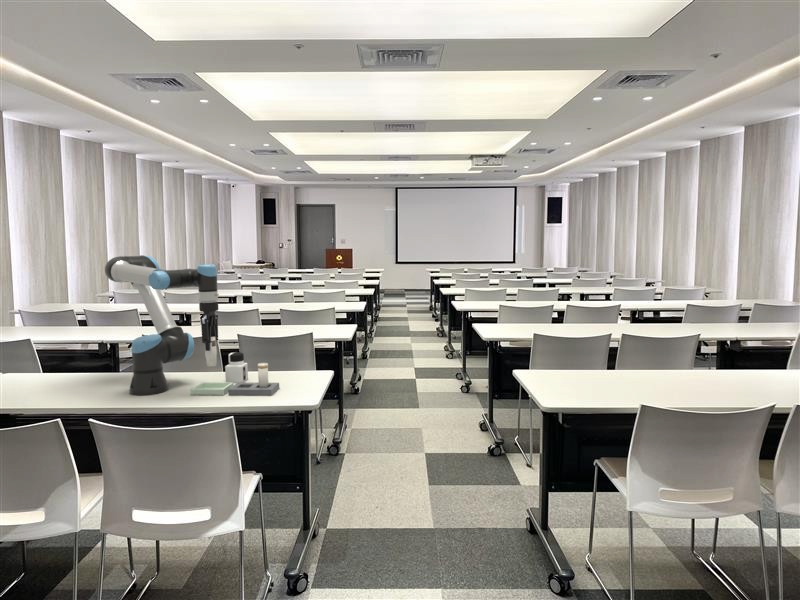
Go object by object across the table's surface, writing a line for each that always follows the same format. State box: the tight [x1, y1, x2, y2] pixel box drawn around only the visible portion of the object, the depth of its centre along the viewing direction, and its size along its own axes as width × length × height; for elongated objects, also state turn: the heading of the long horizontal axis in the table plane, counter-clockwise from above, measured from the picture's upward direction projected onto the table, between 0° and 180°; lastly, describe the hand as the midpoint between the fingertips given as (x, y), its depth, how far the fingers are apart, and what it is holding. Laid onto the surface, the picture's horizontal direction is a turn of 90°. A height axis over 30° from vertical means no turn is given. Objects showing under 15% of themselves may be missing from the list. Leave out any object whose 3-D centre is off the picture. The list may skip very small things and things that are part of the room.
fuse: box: [257, 362, 269, 388], centre depth 244 cm, size 4×4×12 cm
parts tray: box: [189, 381, 235, 397], centre depth 245 cm, size 14×12×2 cm
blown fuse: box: [205, 336, 217, 367], centre depth 244 cm, size 4×4×12 cm
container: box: [224, 351, 249, 384], centre depth 263 cm, size 8×8×13 cm
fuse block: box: [227, 382, 280, 397], centre depth 244 cm, size 18×12×2 cm, turn 87°
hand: (211, 356), depth 244 cm, fingers closed on blown fuse, 4 cm apart
